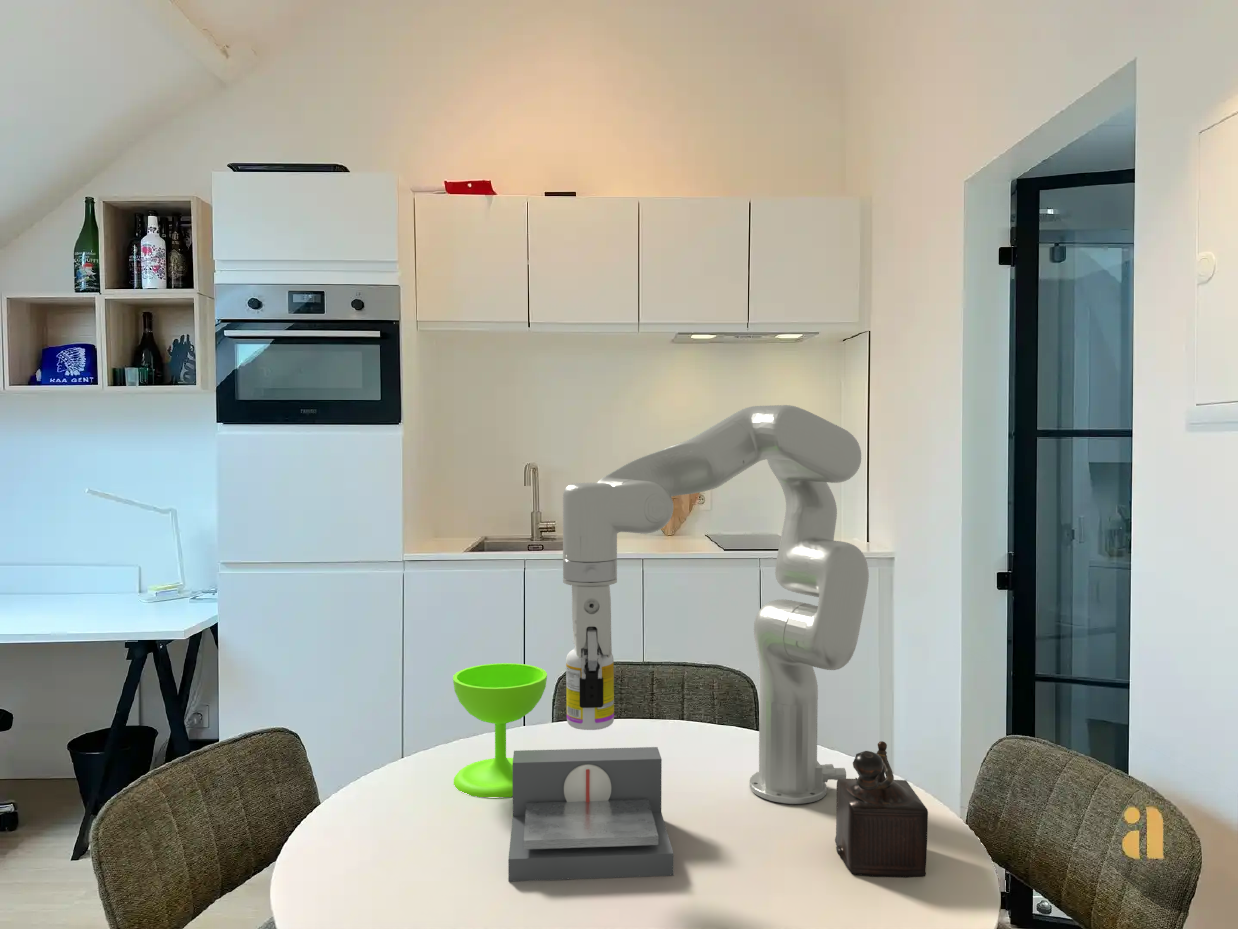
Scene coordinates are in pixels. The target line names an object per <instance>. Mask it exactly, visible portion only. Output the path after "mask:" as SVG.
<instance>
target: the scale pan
mask: <svg viewBox="0 0 1238 929" xmlns="http://www.w3.org/2000/svg"><path fill="white" fill-rule="evenodd" d="M639 845H658V833H657V829H656V826H655V822H654V818H653V814H652V811H651V807H650V803H649V800H648V799H639V800H608V801H589V802H586V801H582V802H539V803H526V814H525V829H524V849H551V848H580V847H609V846H639Z"/></svg>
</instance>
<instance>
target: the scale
mask: <svg viewBox="0 0 1238 929" xmlns="http://www.w3.org/2000/svg"><path fill="white" fill-rule="evenodd" d="M512 758H513V797H512V818H511V819H512V821H511V830H510V841H509V851H508V861H507V862H508V866H507V867H508V868H507V869H508V870H507V871H508V878H507V879H508V882H527V881H530V882H531V881H535V882H536V881H555V880H580V879H581V880H585V879H610V878H612V879H613V878H634V877H635V878H636V877H637V878H639V877H640V878H641V877H660V876H661V877H664V876H665V877H666V876H667V877H668V876H674V851H673V847H672V844H671V840H670V837H669V834H668V829H667V827H666V824H665V820H664V816H663V813H662V772H663V771H662V767H663V766H662V760H663V759H662V757H661V754H660V750H659V748H658V746H651V747H650V746H645V747H644V746H643V747H610V748H609V747H607V748H606V747H604V748H602V747H601V748H568V749H567V748H566V749H564V748H563V749H562V748H561V749H533V750H531V749H530V750H529V749H528V750H526V749H523V750H521V749H520V750H513V756H512ZM639 799H648V800H649V803H650V807H651V811H652V814H653V818H654V822H655V826H656V829H657V833H658V845H639V846H609V847H580V848H551V849H524V829H525V814H526V803H539V802H582V801H586V802H589V801H608V800H639Z"/></svg>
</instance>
